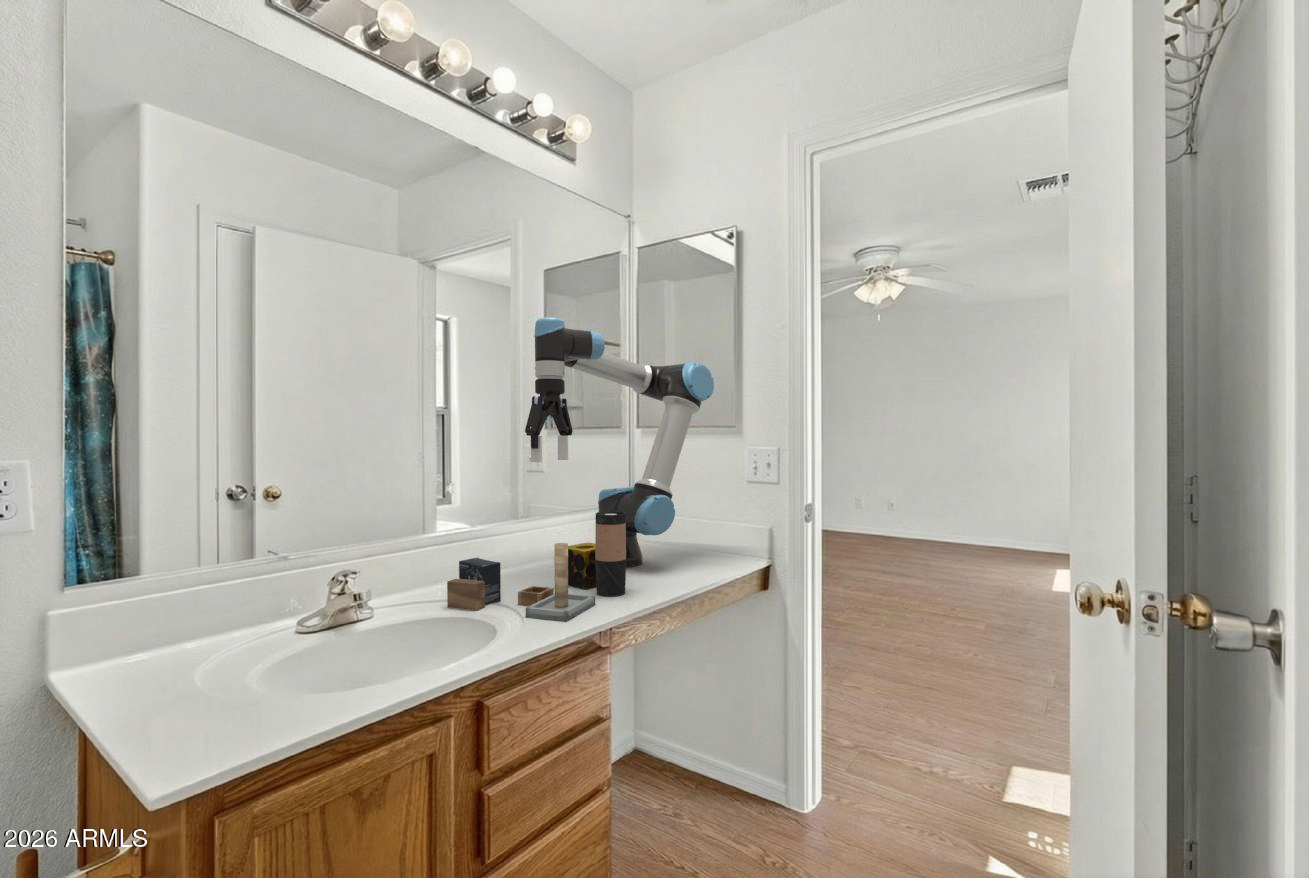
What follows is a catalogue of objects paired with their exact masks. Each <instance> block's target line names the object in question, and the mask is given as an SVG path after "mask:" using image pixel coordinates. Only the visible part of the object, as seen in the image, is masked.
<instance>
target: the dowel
mask: <svg viewBox="0 0 1309 878" xmlns="http://www.w3.org/2000/svg"><path fill="white" fill-rule="evenodd" d="M553 546H554V551H553V553H554V561H553V562H554V594H555V607H556V608H566V607H568V594H569V585H568V546H569V543H568V542H567V543H566V542H557V543H556V542H555V543H554V545H553Z"/></svg>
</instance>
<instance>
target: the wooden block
mask: <svg viewBox="0 0 1309 878" xmlns="http://www.w3.org/2000/svg"><path fill="white" fill-rule="evenodd" d="M446 585H447V586H446V589H447V590H446V591H447V592H446V593H447V594H446V595H447V597H446V598H447V599H446V601H447V608H448V609H458V610H467V611H473V612H475V611H476V612H478V611H480V610H482V609H484V608H485V607H486V605H485V581H476V580H466V579H459V578H454V579H453V578H452V579H450V580H447V581H446Z"/></svg>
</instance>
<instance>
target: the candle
mask: <svg viewBox="0 0 1309 878" xmlns="http://www.w3.org/2000/svg"><path fill="white" fill-rule="evenodd" d="M595 560H596V559H595V543H594V542H584V543H578V544H571V545H568V587H569V586H570V587H572V588H579V589H580V590H590V589H591V590H592V589H595V588H596V562H595Z"/></svg>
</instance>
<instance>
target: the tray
mask: <svg viewBox="0 0 1309 878" xmlns="http://www.w3.org/2000/svg"><path fill="white" fill-rule="evenodd" d="M594 606H596V596H595V595H587V594H576V593H568V607H566V608H556V607H555V593H554V594H553V595H551V596H549V597H547V598H545V599H543V600H541V601H539V602H537V603H535V604H533V605H530V606H526V607H525V618H528V619H529V618H532V619H540V620H549V621H557V622H565V623H566V622H569V621H570V620H571V619H574V618H575V617H577V616H579V615H580V614H583V612H586V611H588V610H589V609H591V608H592V607H594Z"/></svg>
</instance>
